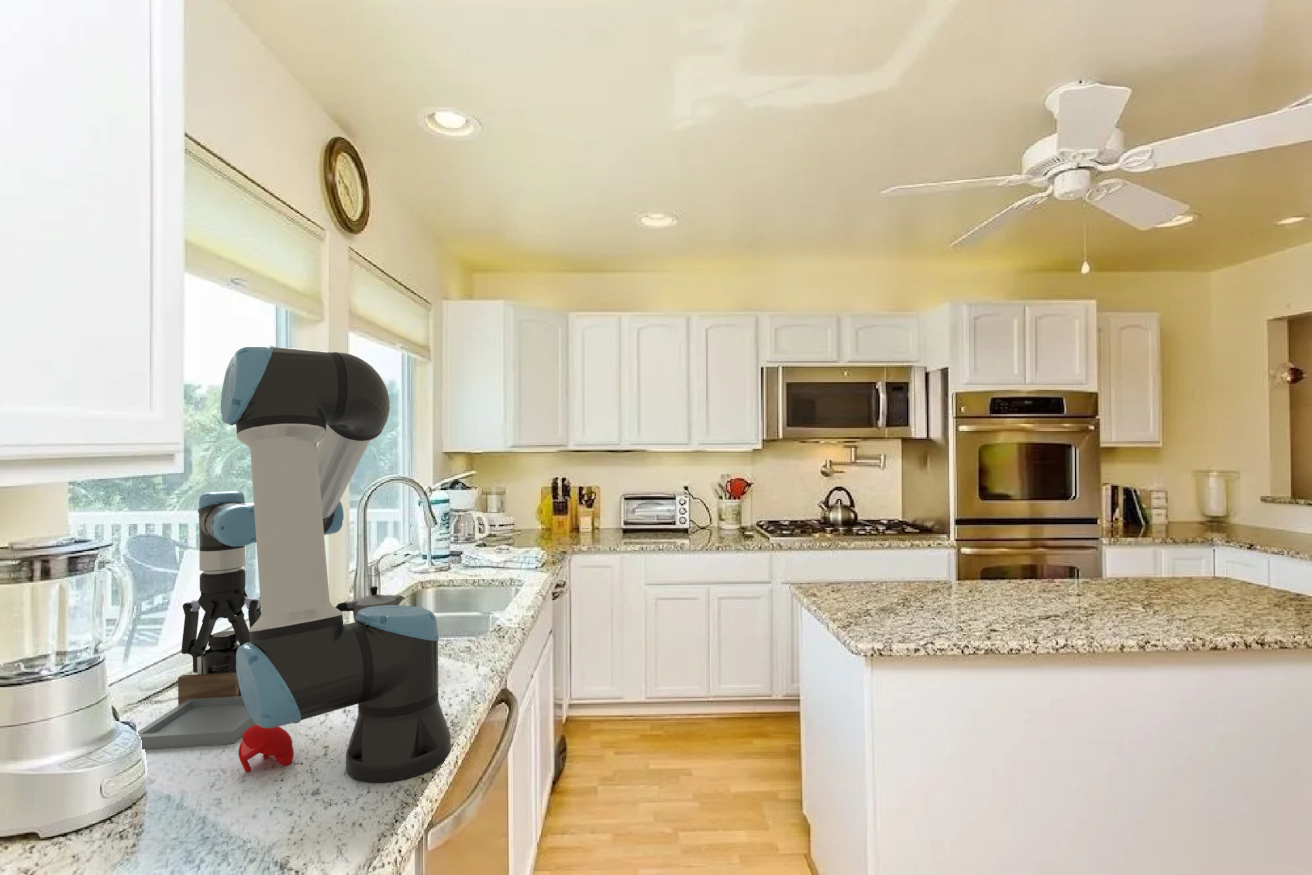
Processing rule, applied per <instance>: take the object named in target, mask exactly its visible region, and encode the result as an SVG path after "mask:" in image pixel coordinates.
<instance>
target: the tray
mask: <svg viewBox="0 0 1312 875" xmlns="http://www.w3.org/2000/svg"><path fill="white" fill-rule="evenodd" d="M254 725H257V724H256V723H255V722H254V721H253V720H252V719H251V717H250V715H249V713H248V711H247V709H246V707H245V704H244V701H243V698H242V695H239V696H232V697H215V698H197V699H188V700H186V701H185V702H183V703H182V704H180V705H179V706H178V705H177V706H175V707H174V708H172V709H171V710H169V711H168V712H165V714H163V715H161V716H160V717H159V718H156V719H155V720H154V721H152V722H150V723H149V724H147V725H146V726H144V727H143V728H141V729H140V730H138V731H137V732H138V734H139V736H140V737H141V740H142V750H155V749H156V750H157V749H169V748H170V749H171V748H185V747H186V748H187V747H189V748H190V747H200V746H203V747H204V746H217V745H220V746H221V745H233V744H235V743H236V742H237V741H238V740H239V739H240V738H242V737H243V734H244V732H245V731H246V730H247V729H248V728H250V727H252V726H254Z"/></svg>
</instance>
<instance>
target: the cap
mask: <svg viewBox="0 0 1312 875" xmlns="http://www.w3.org/2000/svg"><path fill="white" fill-rule="evenodd" d="M241 738H242V739H241V740H240V741H241V742H240V743H239V747H238V758H239V761H240V764H241V765H242V767H243V770H244V772H245V773H249V772H250V771H251V770H252V768H251V765H250V763H249V761H248V760H251V759H252V758H254V757H255V756H257V755H258V754H260V755H261V754H262V758H263V759H268V758H270V757H273V758H274V759H275V761H276V762H277V763H278V764H280V765H282V766H284V767H285V766H290V764H291V763H292V762H293V760H294V755H295V754H294V748H293V739H292V738H291V735H290V733H288V732H287V731H286V730H285V729H284V728H282V727H281V726H278V727H274V728H262V727H260V726H258V725H257V724H256V725H254V726H252V727H250V728H248V729H247V730H246V731H245V732H244V734H243V736H241Z"/></svg>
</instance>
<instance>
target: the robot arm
mask: <svg viewBox="0 0 1312 875" xmlns="http://www.w3.org/2000/svg"><path fill="white" fill-rule="evenodd" d="M390 404H391V403H390V395H389V392H388V388H387V386H386V383H385V382H384V380H383V378H382V377H381V375H380V374H379V373H378V372H377V371H376V369H375V368H374V367H373V366H372V365H371V364H369V363H368V362H366V360H364V359H362V358H360V357H358V356H357V355H356V356H355V355H353V354H351V353H346V352H340V351H339V352H338V351H333V352H332V351H323V350H311V349H303V348H302V349H300V348H289V347H278V346H273V345H268V346H264V345H263V346H261V345H260V346H259V345H258V346H257V345H243V346H241V347H238V348H237V349H236V350H235V351H234V352H233V353H232V354H231V356H230V358H229V361H228V363H227V367H226V370H225V374H224V377H223V383H222V390H221V398H220V414H221V421H222V422H223V423H224V424H227V425H229V426H234V425H235V428H236V438H237V440H239V441H240V442H241V443H243V444H244V445H246V446H247V447H248V448H249V451H250V467H251V468H250V469H251V481H252V482H251V484H252V492H253V494H252V496H253V498H252V499H253V502H249V503H246V499H245V494H244V493H243V492H242V491H238V490H237V491H235V490H234V491H233V490H230V491H229V490H228V491H212V492H203V493H202V494H201V495H200V496H199V499H198V509H197V513H198V528H199V529H198V530H199V531H198V532H199V555H198V556H199V557H198V558H199V560H198V561H199V568H198V569H199V571H201V573H200V574H199V592H200V595H199V598H198V599H196V600H194V599H193V600H190V601H187V602H185V603H184V604H183V605H182V610H183V613H184V621H183V622H184V623H183V632H182V641H181V650H180V651H181V654H182V655H190V656H192V671H193V673H194V674H203V654H204V653H205V651H206V650H207V646H208V643H209V636H210V635H212V634H213V631H214V628H215V625H216V622H217V621H218V619H220V618H222V619H227V621H228V623H229V624H231V626H232V629H233V631H234V632H235V634H236V637H237V639H238V644H239V645H240V647H239V648H238V650H237V652H236V661H237V663H236V671H237V678H238V683H239V689H240V691H241V694H240V696H242V698H243V701H244V704H245V707H246V709H247V711H248V713H249V715H250V717H251V719H252V720H253V721H254V722H255V723H256V725H258V726H260V727H262V728H274V727H281V726H285V725H286V726H287V725H290V724H298V723H301V721H303V720H306V719H310V718H313V717H316V716H317V717H318V716H321V715H324V714H328V713H331V712H335V711H339V710H341V709H342V710H343V709H345V708H346V709H347V708H348V707H352V706H355V705H357V708H358V709H357V718H356V720H355V724H354V727H353V728H352V733H351V736H350V738H349V743H348V746H347V749H346V752H345V771H346V773H347V774H348V776H349V777H351V778H353V779H355V780H358V781H362V782H369V783H370V782H371V783H386V782H387V783H388V782H394V781H400V780H406V779H409V778H413V777H415V776H418V775H422V774H424V773H427V772H428V771H430V770H432V769H434V768H436V767H437V766H439V765H440V764H441V763H443V762H444V761H445V760H446V759H447V758H448V757H449V755H450V753H451V750H452V748H451V745H452V744H451V733H450V732H451V731H450V729H449V727H448V724H447V722H446V721H447V720H446V717H445V716H444V713H443V710H442V707H441V704H440V702H439V640H440V637H439V632H438V630H439V629H438V622H437V621H438V620H437V618H436V615H435V614H434V613H433V612H432V611H431V610H429V609H427V608H424V607H419V606H413V605H412V606H411V605H400V604H399V605H384V606H373V607H367V608H365V609H361V610H359V611H358V613H357V616H356V622H355V621H354V622H350V623H345V624H344V618H343V611H342V612H341V611H340V610H338V609H337V608H335V607H336V606H334V605H333V604H332V603H331V601H330V600H331V599H330V592H329V591H330V590H329V589H330V588H329V582H328V581H329V580H328V578H329V577H328V576H329V575H328V566H327V564H328V563H327V555H326V542H325V536H326V535H333V534H336V533H338V532H340V530H341V529H342V527H343V521H344V515H345V514H344V507H343V505H342V502H341V498H342V497H343V495H344V493H345V492H346V489H347V487H348V485H349V483H350V481H351V479H352V477H353V475H354V473H355V472H356V469H357V468H358V466H359V463H360V462H361V459H362V457H363V456H364V453H365V452H366V450H367V448H368V446H369V444H370V442H371V441H373V440H375V439H377V438H378V437H379V436H380V435H381V433H382V432H383V430H384V428H385V426H386V424H387V422H388V418H389V415H390V409H391V407H390ZM253 543H254V544H255V543H256V557H257V558H256V559H257V569H258V570H257V571H258V583H259V584H258V586H259V587H258V588H259V597H257V598H255V597H250V596H248V594H247V593H246V585H247V584H246V583H247V581H246V580H247V579H246V578H247V577H246V575H247V574H246V570H245V568H243V567H245V566H246V546H248V545H251V544H253ZM244 605H246V609H247V611H248V612H247V616H248V624H249V627H248V625H247V622H246V620H245V613H244V611H243V607H244ZM200 609H202V610H203V611H204V615H203V618H202V620H201V622H202V623H201V625H200V629H199V632H198V625H199V618H200V617H199V616H200Z"/></svg>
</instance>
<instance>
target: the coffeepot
mask: <svg viewBox="0 0 1312 875" xmlns="http://www.w3.org/2000/svg"><path fill="white" fill-rule="evenodd" d="M369 589H370V595H367V596H364V597H360V598H357V599H353V600H352V601H351V600H350V601H344V602H340V603H338V604H336V606H334V607H335V608H337V609H338V610H340V611H341V612H342V613H343V612H352V613H353V614H352V615H353V619H354V622H356V616H357V613H358V611H359V610H361V609H365V608H367V607H373V606H384V605H400V604H401V602H402V601H403V600H404V599H405V597H404V596H403V595H395V594H388V595H387V594H386V595H385V594H378V590H379V587H378V586H375V585H374V586H372V587H370V588H369Z"/></svg>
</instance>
